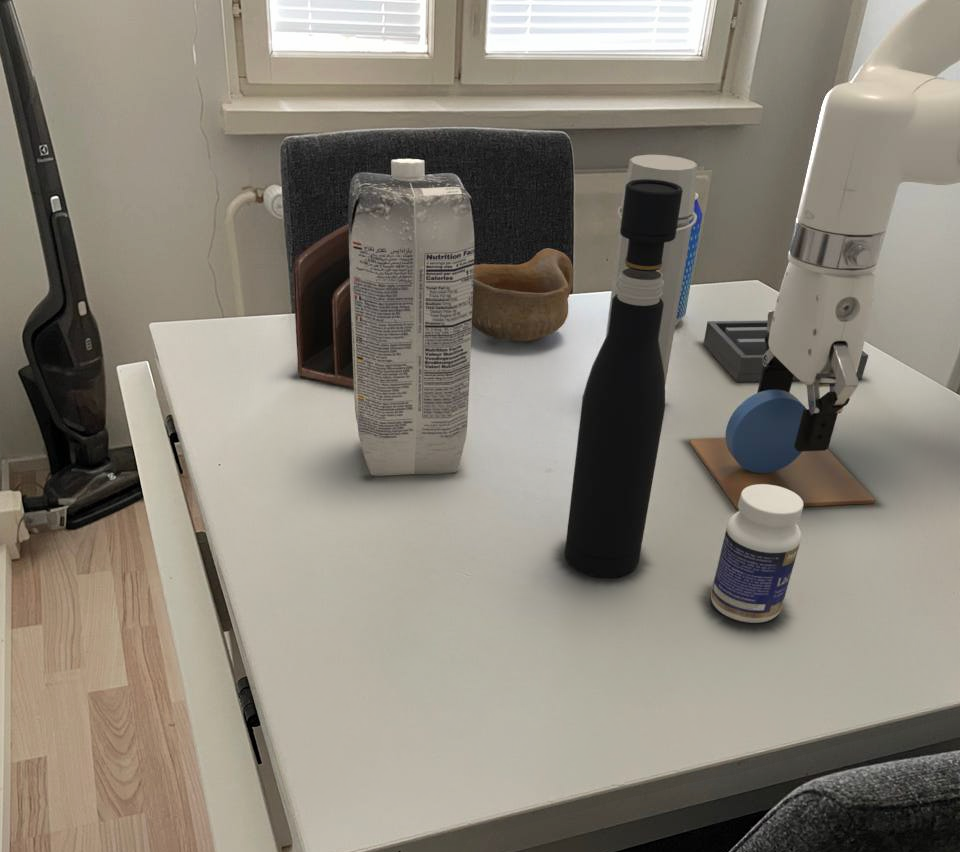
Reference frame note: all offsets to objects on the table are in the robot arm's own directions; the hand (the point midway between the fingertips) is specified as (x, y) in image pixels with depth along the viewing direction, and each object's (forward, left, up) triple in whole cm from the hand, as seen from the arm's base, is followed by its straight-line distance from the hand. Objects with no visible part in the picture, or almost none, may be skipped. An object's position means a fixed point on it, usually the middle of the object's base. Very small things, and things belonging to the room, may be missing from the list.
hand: (789, 426), depth 97 cm
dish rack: (-12, -28, -5) cm, 31 cm away
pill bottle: (+12, +22, -5) cm, 26 cm away
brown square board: (0, 0, -5) cm, 5 cm away
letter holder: (+38, -32, -5) cm, 50 cm away
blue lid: (0, 0, -4) cm, 4 cm away
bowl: (+19, -40, -5) cm, 44 cm away
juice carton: (+37, -5, -5) cm, 37 cm away
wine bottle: (+22, +14, -5) cm, 27 cm away
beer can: (0, -43, -5) cm, 43 cm away
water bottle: (+11, -16, -5) cm, 20 cm away
